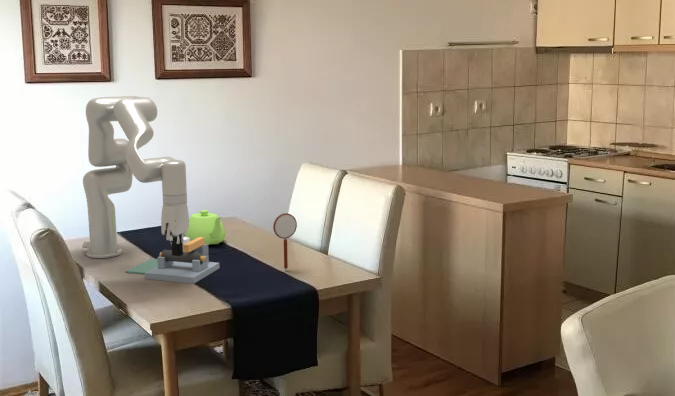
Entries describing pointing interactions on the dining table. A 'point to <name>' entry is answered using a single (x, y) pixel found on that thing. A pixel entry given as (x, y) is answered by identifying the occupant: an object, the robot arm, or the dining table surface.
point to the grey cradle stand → (183, 269)
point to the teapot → (206, 227)
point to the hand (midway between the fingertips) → (177, 255)
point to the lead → (182, 256)
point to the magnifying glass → (285, 231)
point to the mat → (143, 267)
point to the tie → (193, 244)
